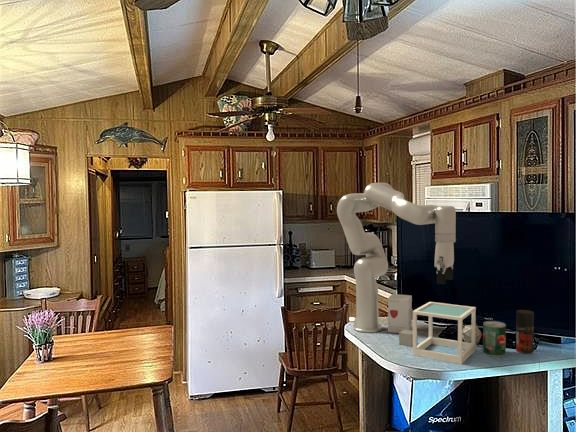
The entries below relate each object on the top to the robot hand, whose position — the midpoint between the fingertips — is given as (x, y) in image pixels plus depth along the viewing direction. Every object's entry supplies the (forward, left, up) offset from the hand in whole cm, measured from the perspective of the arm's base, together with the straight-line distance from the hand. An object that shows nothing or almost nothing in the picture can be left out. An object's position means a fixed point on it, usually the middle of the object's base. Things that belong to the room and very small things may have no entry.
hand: (444, 281), depth 199 cm
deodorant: (+27, +9, -25) cm, 38 cm away
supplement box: (-23, +10, -25) cm, 35 cm away
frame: (+3, -9, -25) cm, 27 cm away
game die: (+8, +7, -25) cm, 28 cm away
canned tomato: (+18, +1, -25) cm, 31 cm away
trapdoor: (+2, -9, -10) cm, 13 cm away
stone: (-13, -6, -25) cm, 29 cm away
